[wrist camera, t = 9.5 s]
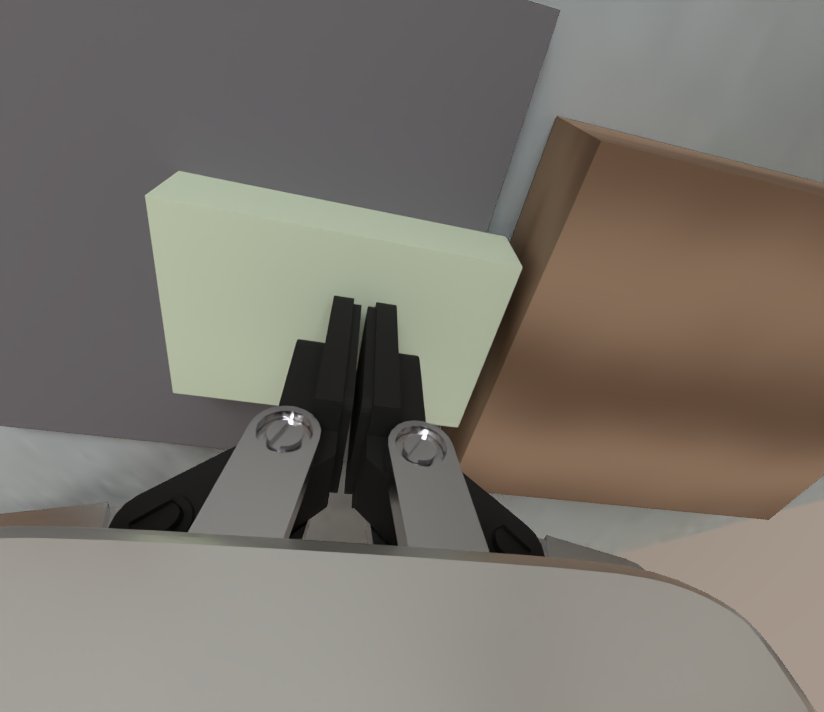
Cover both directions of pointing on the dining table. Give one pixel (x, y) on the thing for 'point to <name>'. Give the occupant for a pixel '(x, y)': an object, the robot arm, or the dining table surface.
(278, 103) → the mat
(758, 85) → the dining table surface
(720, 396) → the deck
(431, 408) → the pale green block
